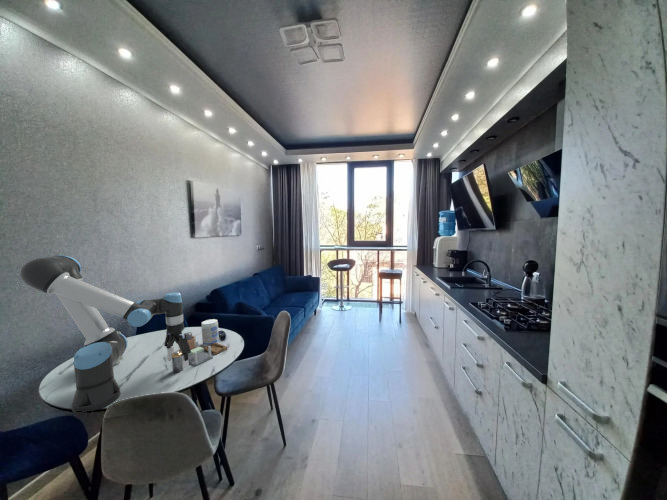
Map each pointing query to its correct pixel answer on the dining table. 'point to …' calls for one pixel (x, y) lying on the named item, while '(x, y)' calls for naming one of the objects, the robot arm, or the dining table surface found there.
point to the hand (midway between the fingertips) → (178, 362)
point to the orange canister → (190, 340)
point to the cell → (177, 362)
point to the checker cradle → (199, 357)
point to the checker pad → (197, 350)
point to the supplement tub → (210, 332)
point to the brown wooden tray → (216, 348)
